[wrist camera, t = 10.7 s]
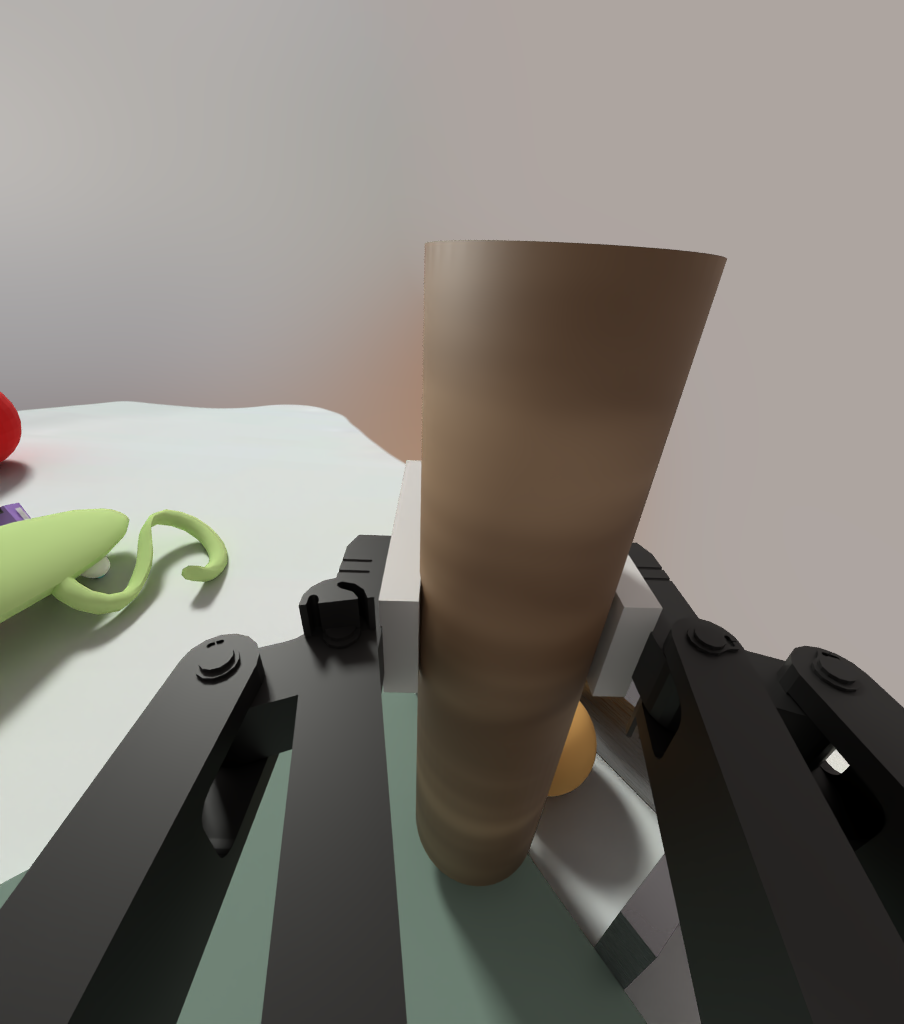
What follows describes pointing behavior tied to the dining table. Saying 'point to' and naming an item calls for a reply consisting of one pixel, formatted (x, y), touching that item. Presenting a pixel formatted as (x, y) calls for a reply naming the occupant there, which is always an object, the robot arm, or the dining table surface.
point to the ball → (575, 754)
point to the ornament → (8, 428)
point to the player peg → (531, 508)
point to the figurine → (84, 556)
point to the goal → (653, 903)
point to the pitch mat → (415, 925)
